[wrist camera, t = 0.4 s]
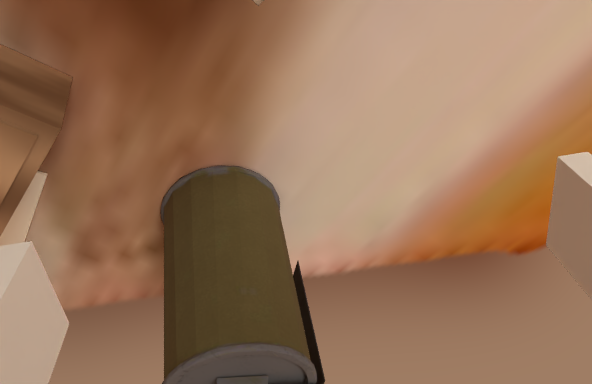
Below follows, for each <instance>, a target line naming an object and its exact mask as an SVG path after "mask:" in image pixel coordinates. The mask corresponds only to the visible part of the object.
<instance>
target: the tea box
mask: <svg viewBox="0 0 592 384" xmlns="http://www.w3.org/2000/svg"><path fill="white" fill-rule="evenodd" d="M252 1H253V2H254V3H255V4H257V5H258V6H259V5H260V4H261V3H262V2H263V1H264V0H252Z"/></svg>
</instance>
